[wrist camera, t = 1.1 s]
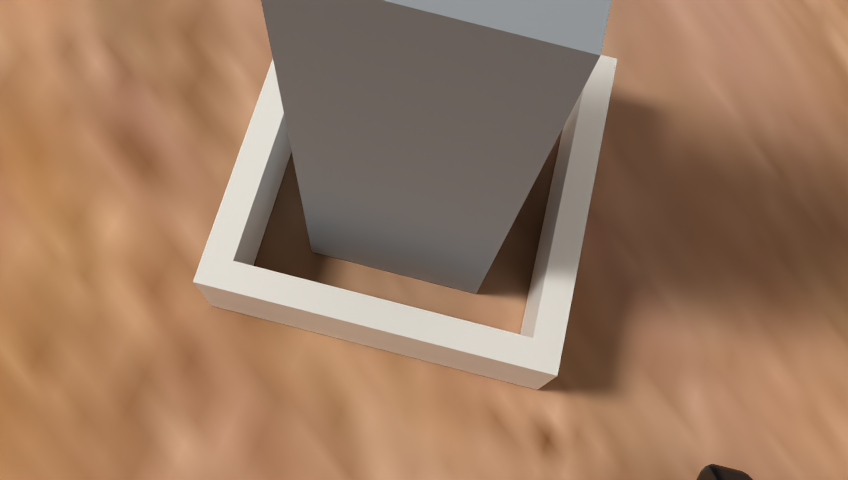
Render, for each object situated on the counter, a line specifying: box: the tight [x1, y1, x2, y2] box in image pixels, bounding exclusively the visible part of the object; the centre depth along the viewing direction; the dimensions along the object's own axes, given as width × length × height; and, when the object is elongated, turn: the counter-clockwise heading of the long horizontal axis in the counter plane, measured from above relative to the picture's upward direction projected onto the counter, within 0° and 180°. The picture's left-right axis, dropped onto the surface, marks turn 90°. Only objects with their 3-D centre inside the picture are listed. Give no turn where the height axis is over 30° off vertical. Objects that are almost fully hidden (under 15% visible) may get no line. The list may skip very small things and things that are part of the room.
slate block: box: [261, 0, 611, 294], centre depth 18 cm, size 5×5×13 cm
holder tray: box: [193, 55, 617, 390], centre depth 23 cm, size 10×10×2 cm
